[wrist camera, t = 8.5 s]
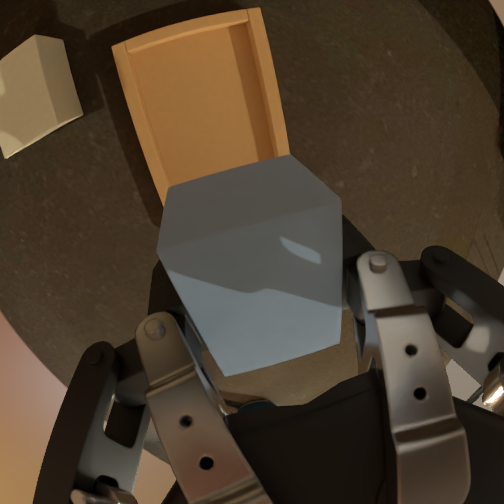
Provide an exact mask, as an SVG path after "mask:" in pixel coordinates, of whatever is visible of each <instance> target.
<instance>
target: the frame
mask: <svg viewBox="0 0 504 504" xmlns="http://www.w3.org/2000/svg"><path fill="white" fill-rule="evenodd" d="M111 48H112V52H113V56H114V59H115V63H116V67H117V70H118V74H119V78H120V81H121V85H122V88H123V91H124V95H125V98H126V101H127V105H128V108H129V111H130V114H131V117H132V120H133V123H134V126H135V130H136V133H137V136H138V139H139V141H140V144H141V147H142V150H143V153H144V156H145V159H146V162H147V164H148V167H149V170H150V173H151V175H152V178H153V181H154V183H155V186H156V189H157V191H158V194H159V197H160V199H161V202H162V204H163V207H164V205H165V200H166V195H167V190H168V188H169V187H171V186H174V185H177V184H180V183H183V182H187V181H190V180H193V179H196V178H200V177H203V176H207V175H210V174H214V173H217V172H221V171H224V170H228V169H231V168H235V167H239V166H243V165H247V164H251V163H255V162H259V161H263V160H267V159H271V158H275V157H280V156H284V155H289V154H290V151H289V145H288V139H287V133H286V128H285V122H284V116H283V111H282V106H281V100H280V95H279V90H278V85H277V80H276V75H275V70H274V66H273V61H272V56H271V52H270V47H269V43H268V39H267V34H266V30H265V26H264V22H263V18H262V14H261V10H260V8H259V7H258V8H250V9H242V10H235V11H229V12H224V13H218V14H213V15H208V16H204V17H199V18H195V19H191V20H187V21H183V22H179V23H176V24H172V25H169V26H166V27H162V28H159V29H156V30H153V31H150V32H147V33H144V34H141V35H139V36H136V37H133V38H131V39H128V40H126V41H124V42H121V43H118V44H116V45H113V46H112V47H111Z"/></svg>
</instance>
